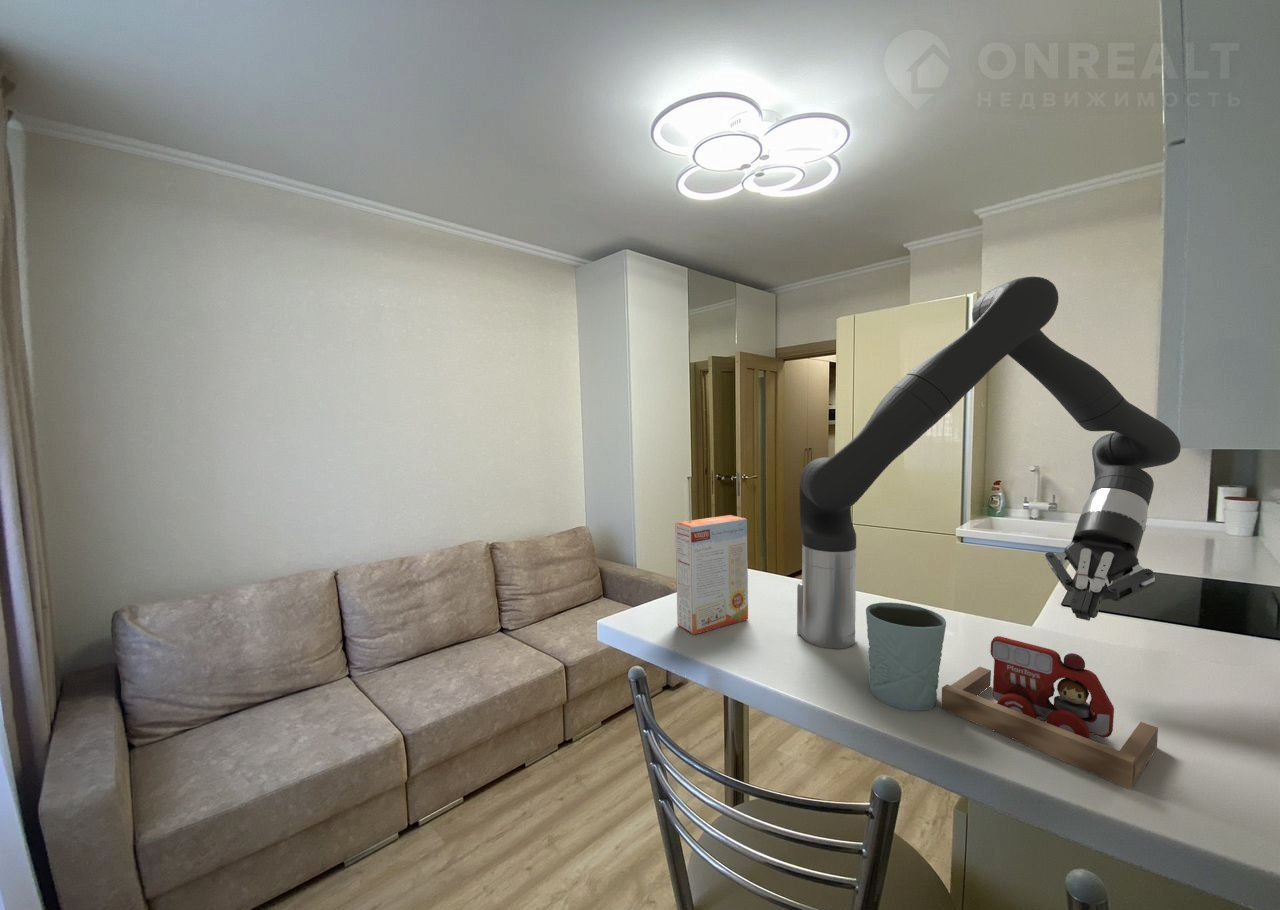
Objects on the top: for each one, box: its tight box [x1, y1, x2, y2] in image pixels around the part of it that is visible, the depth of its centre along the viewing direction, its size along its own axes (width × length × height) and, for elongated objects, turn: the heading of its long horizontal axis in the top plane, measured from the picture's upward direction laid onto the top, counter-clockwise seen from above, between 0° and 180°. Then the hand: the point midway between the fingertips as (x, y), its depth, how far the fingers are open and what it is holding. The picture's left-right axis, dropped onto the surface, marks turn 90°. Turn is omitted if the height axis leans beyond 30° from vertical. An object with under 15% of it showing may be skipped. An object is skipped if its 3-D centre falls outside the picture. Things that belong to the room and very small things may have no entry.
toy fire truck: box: [990, 635, 1115, 739], centre depth 64 cm, size 7×12×10 cm, turn 42°
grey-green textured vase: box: [865, 602, 947, 712], centre depth 72 cm, size 10×10×12 cm
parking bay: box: [941, 666, 1159, 790], centre depth 64 cm, size 19×12×3 cm, turn 35°
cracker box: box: [674, 514, 749, 635], centre depth 99 cm, size 14×6×21 cm, turn 120°
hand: (1081, 616), depth 73 cm, fingers closed
